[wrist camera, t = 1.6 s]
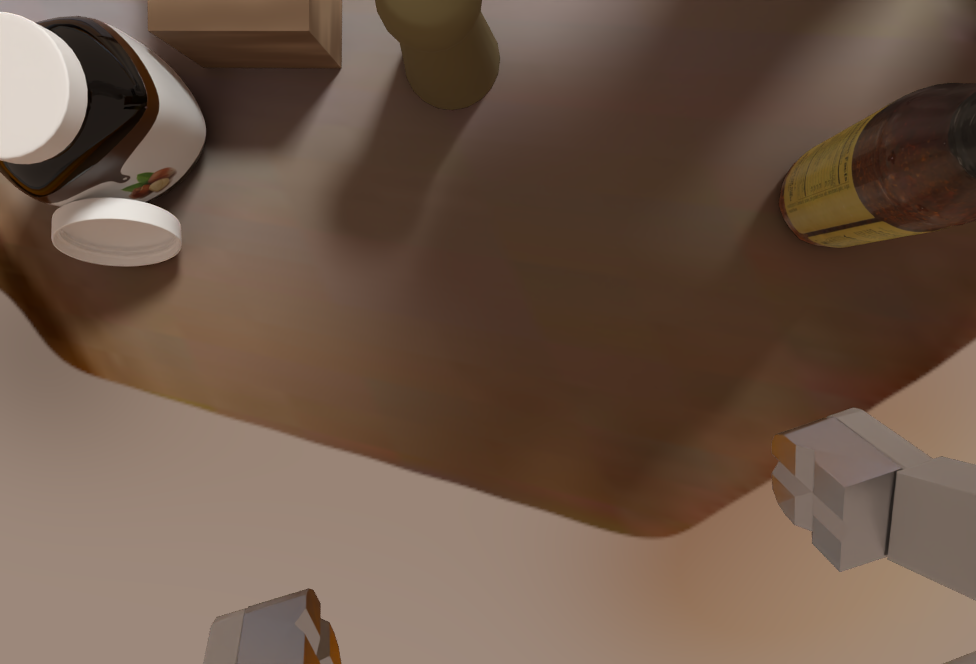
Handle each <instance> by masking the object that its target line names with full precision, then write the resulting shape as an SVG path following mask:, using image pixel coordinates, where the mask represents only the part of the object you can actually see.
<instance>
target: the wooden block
mask: <svg viewBox="0 0 976 664" xmlns="http://www.w3.org/2000/svg"><path fill="white" fill-rule="evenodd" d="M148 31H149V32H151V33H152V34H154V35H155V36H157V37H158V38H160V39H161V40H163V41H164V42H166V43H167V44H169V45H170V46H172V47H173V48H175V49H176V50H178V51H179V52H181V53H182V54H184V55H185V56H187V57H188V58H190V59H191V60H193V61H194V62H196V63H197V64H199V65H200V66H202V67H206V68H341V62H342V0H148Z"/></svg>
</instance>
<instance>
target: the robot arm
mask: <svg viewBox="0 0 976 664" xmlns="http://www.w3.org/2000/svg"><path fill="white" fill-rule="evenodd" d="M771 454H772V455H774V456H775V457H776V458H777V459H778V460H779V462H778V464H777V466H776V467H775V469H774V470H773V472H772V488H773V491H774V494H775V497H776V500H777V502H778V504H779V506H780V507H781V509H782V510H783V512H784V514H785V515H786V516H787V517H788V518H789V519H790V520H791V521H792V523H793V524H794V525H796V526H799V527H802V528H804V529H807V530H809V531H812V544H813V545H814V546H815V547H816V548H817V549H818V550H819V551H820V552H821V553H822V554H823V555H824V556H825V557H826V558H827V559H828V560H829V561H830V562H831V563H832V564H833V565H834V567H836V569H837V570H838V571H839V572H842V571H845V570H848V569H851V568H854V567H857V566H860V565H863V564H866V563H869V562H872V561H875V560H879V559H881V558H885V557H888V558H887V559H888V560H890V561H892V562H894V563H896V564H898V565H901V566H903V567H905V568H907V569H909V570H911V571H914V572H916V573H918V574H920V575H922V576H924V577H926V578H929V579H931V580H933V581H935V582H937V583H939V584H941V585H944V586H946V587H948V588H950V589H952V590H954V591H956V592H958V593H961V594H963V595H965V596H967V597H969V598H971V599H973V600H976V465H975V464H970V463H966V462H962V461H958V460H954V459H950V458H946V457H942V456H941V457H938V458H935V459H933V458H931V457H930V456H928V455H927V454H925V453H924V452H923V451H921V450H920V449H918V448H917V447H915V446H914V445H913V444H911V443H910V442H908V441H907V440H905V439H904V438H902V437H901V436H900V435H898V434H897V433H895V432H894V431H892V430H891V429H889V428H888V427H887V426H885V425H884V424H882V423H881V422H879V421H878V420H876V419H875V418H874V417H872V416H871V415H869V414H868V413H866V412H865V411H864V410H862V409H858V408H851V409H848V410H845V411H842V412H839V413H836V414H833V415H830V416H828V417H827V418H822V419H819V420H816V421H813V422H811V423H808V424H805V425H802V426H799V427H796V428H793V429H790V430H787V431H784V432H781V433H778V434H775V436H774V438H773V440H772V449H771ZM203 664H341V658H340V652H339V646H338V644H337V640H336V637H335V634H334V631H333V629H332V627H331V625H330V623H329V622H328V621H325V620H323V619H321V618H320V602H319V600H318V598H317V596H316V595H315V592H314V590H312V589H306V590H302V591H299V592H296V593H292V594H289V595H286V596H282V597H279V598H276V599H273V600H269V601H266V602H262V603H259V604H256V605H253V606H249V607H248V608H246V609H242V610H239V611H235V612H232V613H229V614H225V615H222V616H219V617H216V619H215V621H214V622H213V624H212V625H211V628H210V633H209V638H208V643H207V648H206V653H205V658H204V663H203ZM943 664H976V651H975V652H972V653H970V654H967V655H964V656H962V657H959V658H956V659H954V660H951V661H949V662H946V663H943Z"/></svg>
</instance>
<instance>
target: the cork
mask: <svg viewBox="0 0 976 664" xmlns="http://www.w3.org/2000/svg"><path fill="white" fill-rule="evenodd" d="M375 2H376V8H377V12H378V14H379V16H380V18H381V20H382V22H383V23H384V25H385V27H386V29H387V30H388V32H389V33H390V34H391V35H392V36H393V37H394V38H395V39H396V40H397V41H399V42H400V46H401V51H402V56H403V61H404V66H405V72H406V77H407V79H408V81H409V83H410V85H411V87H412V89H413V91H414V92H415V93H416V94H417V95H418V96H419V97H420V98H421V99H422V100H423V101H424V102H426V103H428V104H430V105H433V106H435V107H437V108H441V109H449V110H455V109H460V108H466V107H469V106H470V105H472V104H474V103H476V102H477V101H479V100H481V99H482V98H483V97H484V96H485V95H486V93H487V92H488V91H489V90H490V89H491V88H492V86H493V84H494V82H495V79H496V77H497V75H498V70H499V63H500V55H499V49H498V43H497V41H496V39H495V38H494V36H493V34H492V32H491V30H490V28H489V26H488V24H487V22H486V20H485V18H484V17H483V15H482V13H481V4H482V0H375Z"/></svg>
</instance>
